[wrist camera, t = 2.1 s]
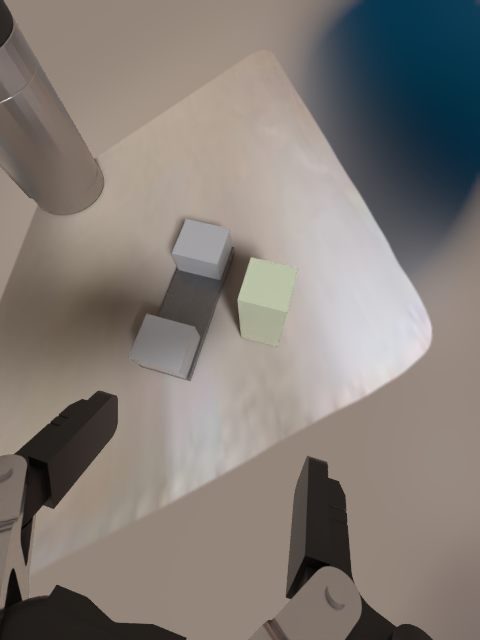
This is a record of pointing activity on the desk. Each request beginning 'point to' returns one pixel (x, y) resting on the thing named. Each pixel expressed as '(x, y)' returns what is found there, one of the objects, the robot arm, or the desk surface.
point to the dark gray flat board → (193, 304)
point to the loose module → (265, 300)
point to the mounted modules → (173, 337)
